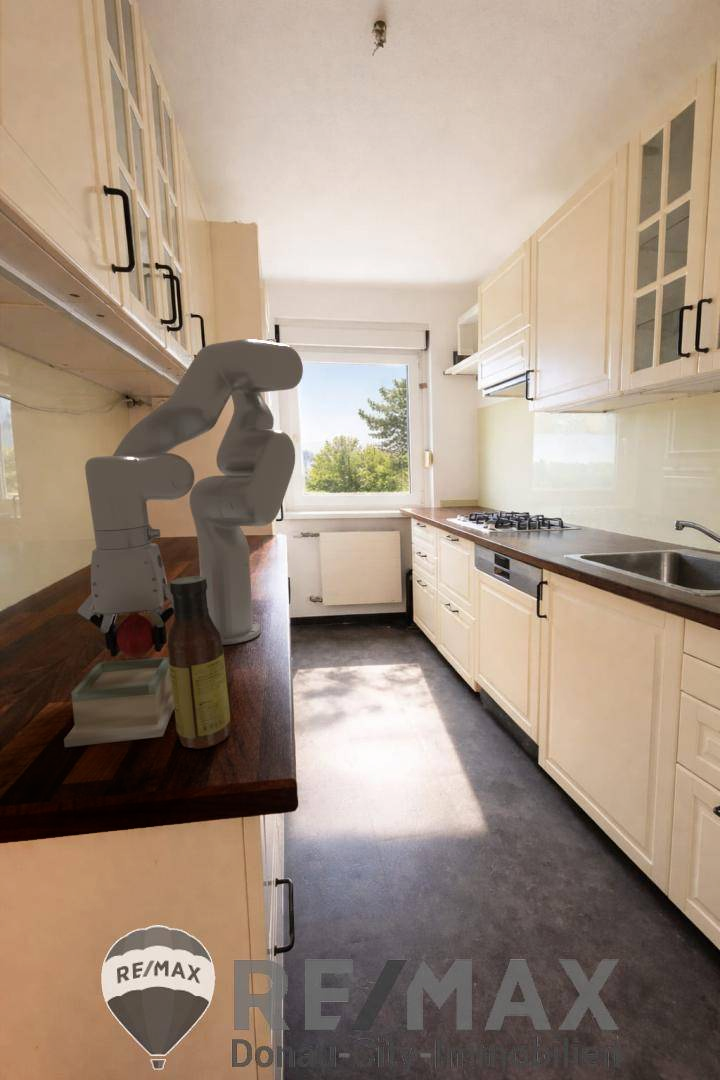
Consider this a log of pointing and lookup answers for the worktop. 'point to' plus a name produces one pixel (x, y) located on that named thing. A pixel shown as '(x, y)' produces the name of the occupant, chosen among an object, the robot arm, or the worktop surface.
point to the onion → (135, 635)
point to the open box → (122, 702)
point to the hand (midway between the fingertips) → (138, 649)
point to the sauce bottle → (197, 667)
